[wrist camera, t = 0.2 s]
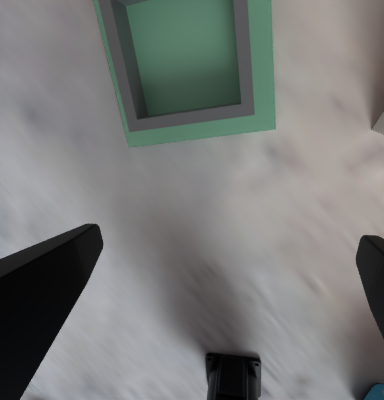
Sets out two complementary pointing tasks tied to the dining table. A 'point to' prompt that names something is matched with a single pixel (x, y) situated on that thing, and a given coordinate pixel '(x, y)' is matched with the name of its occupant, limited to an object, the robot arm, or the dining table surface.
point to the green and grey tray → (189, 67)
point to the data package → (376, 393)
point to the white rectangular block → (379, 125)
